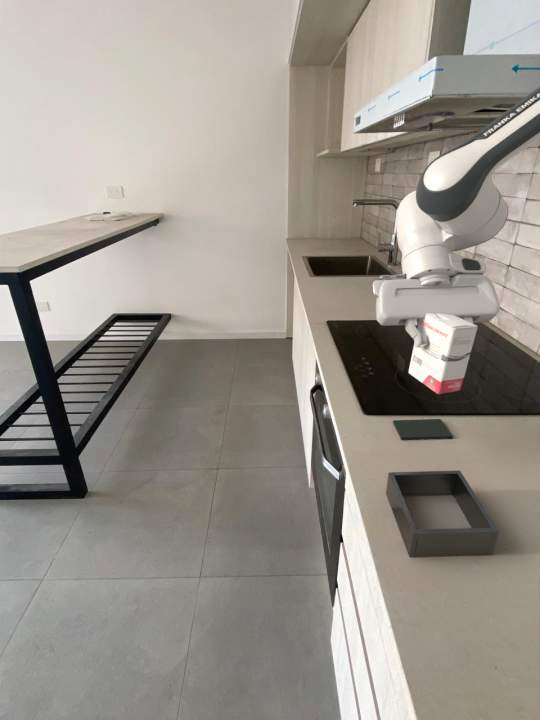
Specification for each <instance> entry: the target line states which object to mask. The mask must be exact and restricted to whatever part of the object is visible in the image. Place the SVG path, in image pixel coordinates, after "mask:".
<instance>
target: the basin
mask: <svg viewBox="0 0 540 720" xmlns="http://www.w3.org/2000/svg"><path fill="white" fill-rule="evenodd" d="M385 495H386V498H387V500H388V503H389V506H390V509H391V512H392V514H393V517H394V519H395V522H396V524H397V528H398V530H399V533H400V535H401V538H402V541H403V543H404V546H405V550H406V553H407V555H408V557H409V558H425V557H426V558H427V557H461V556H462V557H463V556H466V557H467V556H493V555H494V551H495V548H496V544H497V541H498V538H499V535H500V530H499V528H498V527H497V525H496V524H495V522H494V521H493V519H492V518H491V516H490V514H489V513H488V512H487V510H486V508H485V506H484V505H483V504H482V502H481V501H480V499H479V498H478V496H477V495H476V493H475V491H474V489H473V488H472V487H471V485H470V483H469V482H468V481H467V479H466V478H465V476H464V474H463V473H462V471H461V470H459V469H458V470H457V469H456V470H428V471H425V470H423V471H394V472H392V471H391V472H390V471H389V472H388V473H387V482H386V489H385ZM417 496H418V497H419V496H420V497H421V496H453V498H454V500H455V501H456V503H457V504H458V507H459V508H460V510H461V511H462V514H463V515H464V517H465V519H466V520H467V522H468V524H469V526H470V527H466V528H465V527H463V528H462V527H461V528H431V529H430V528H428V529H424V528H423V529H417V527H416V524H415V522H414V520H413V517H412V515H411V513H410V510H409V508H408V506H407V503H406V500H405V498H404V497H417Z"/></svg>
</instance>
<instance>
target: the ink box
mask: <svg viewBox="0 0 540 720" xmlns="http://www.w3.org/2000/svg"><path fill="white" fill-rule="evenodd" d="M425 314H426V316H425V318H420V319H419V323H418V325H417V327H416V328H417V330H418V331H419V332H420V334H421V335H425V334H426V340H427V345H426V346H425V347H420V348H416V347H415V343H413V347H412V353H411V358H410V362H409V368H408V374H409V375H410V376H412V377H413V378H415V379H416V380H417V381H419V382H420V383H422V384H423V385H424V386H426V387H427V388H429V389H430V390H431V391H432V392H434V393H435V394H437V395H442V394H447V393H453V392H454V393H455V392H459V391H461V389H462V386H463V382H464V379H465V376H466V372H467V367H468V364H469V361H470V357H471V354H472V349H473V346H474V342H475V339H476V335H477V331H478V327H479V326H478V325H476V324H475V323H473V324H472V323H470V322H468V321H466V320H463V319H461V318H459V317H457V316H455V315H448V314H441V313H425Z"/></svg>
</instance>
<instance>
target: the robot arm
mask: <svg viewBox="0 0 540 720" xmlns="http://www.w3.org/2000/svg"><path fill="white" fill-rule="evenodd" d="M539 140H540V86H539V87H537V88H536V89H534V90H533V91H532V92H529V94H528V95H526V96H525V97H524V98H522V99H521V100H519V101H518V102H517V103H516V104H514V105H513V106H511V107H510V108H509V109H508V110H506V111H505V112H503V113H502V114H501V115H499V116H498V117H496V118H495V119H494V120H493V121H491V122H489V123H488V124H487V125H486V126H484V127H483V128H481V129H480V130H479V131H478V132H476V133H474V134H473V135H472V136H471V137H469V138H467V139H466V140H465V141H463V142H461V143H460V144H458V145H456V146H454V147H452V148H450V149H448V150H447V151H445V152H443V153H441V154H440V155H438V156H436V157H435V158H434V159H432V161H431V162H429V164H428V165H427V166H426V168H425V169H424V170H423V172H422V173H421V174H420V177H419V180H418V183H417V185H416V190H414V191H412V192H410V193H408V194H407V195H406V196H405V197H403V199H402V200H401V201H400V203H399V205H398V207H397V210H396V214H395V231H396V240H397V247H398V249H399V251H400V253H401V260H400V264H401V265H400V266H401V272H402V274H401V273H399V274H392V275H391V274H382V275H380V276H378V277H377V278H375V279H373V282H372V284H371V285H372V292H373V295H374V296H375V297H376V300H375V301H376V302H375V317H376V321H377V322H378V324H380V326H382V327H385V326H404V328H405V331H406V333H407V334H408V335H409V336H410V337H411V338H412V339H413V342H414V343H415V347H416V348H420V347H425V346H426V345H427V340H426V334H425V335H421V334H420V332H419V331H418V330H417V328H418V327H417V326H418V323H419V319H420V318H425V316H426V314H425V313H441V314H448V315H455V316H457V317H459V318H461V319H463V320H466V321H468V322H470V323H472V324H477V323H489V322H490V321H492V320H493V319H494V318H496V317H497V315H498V314H499V312H500V311H501V304H500V301H499V300H500V299H499V298H498V294H497V290H496V288H495V286H494V283H493V281H492V280H491V278H489V276H487V275H485V273H486V272H487V264H486V263H485V262H484V261H482V260H479V259H475V258H470V257H467V256H463V255H460V254H458V253H455V252H458V251H463V250H466V249H470V248H472V247H476V246H479V245H482V244H484V243H486V242H489V241H490V240H492V239H494V237H496V236H497V235H498V234H499V233H500V231H502V229H503V228H504V226H505V224H506V223H507V221H508V216H509V207H508V206H509V205H508V204H507V202H506V201H505V199H504V197H503V195H502V193H501V191H500V190H499V189H498V187H497V186H496V185H495V184H494V181H493V179H492V176H493V174H494V173H495V172H496V171H497V169H499V168H500V167H501V166H503V165H504V164H506V163H507V162H509V161H511V160H512V159H513V158H515V157H516V156H517V155H519V154H520V153H521V152H523V151H524V150H526V149H528V148H529V147H530V146H532V145H533V144H534V143H536V142H537V141H539ZM414 343H413V344H414Z"/></svg>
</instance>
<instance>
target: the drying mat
mask: <svg viewBox="0 0 540 720" xmlns="http://www.w3.org/2000/svg"><path fill="white" fill-rule="evenodd" d="M392 424H393V426H394V428H395V430H396V432H397V434H398V436H399V438H400V440H401V441H411V440H415V441H416V440H445V439H446V440H447V439H449V440H450V439H453V438H454V437H453V434H452V433H451V431H450V430H449V428H448V427H447V425H446V424H445V422H444V421H443V420H442V418H427V419H426V418H425V419H423V418H422V419H393V420H392Z"/></svg>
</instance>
